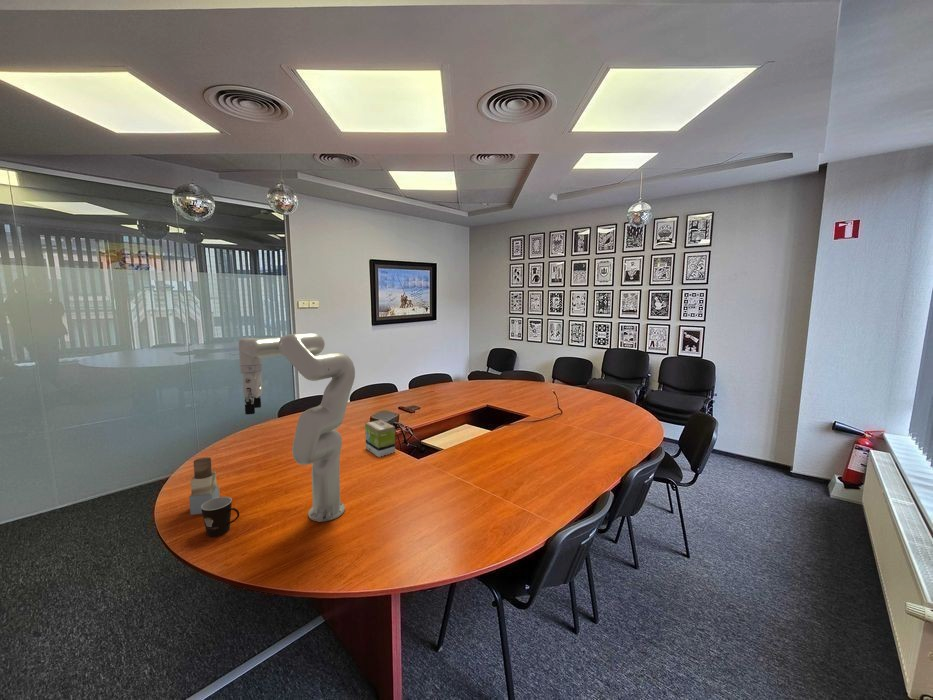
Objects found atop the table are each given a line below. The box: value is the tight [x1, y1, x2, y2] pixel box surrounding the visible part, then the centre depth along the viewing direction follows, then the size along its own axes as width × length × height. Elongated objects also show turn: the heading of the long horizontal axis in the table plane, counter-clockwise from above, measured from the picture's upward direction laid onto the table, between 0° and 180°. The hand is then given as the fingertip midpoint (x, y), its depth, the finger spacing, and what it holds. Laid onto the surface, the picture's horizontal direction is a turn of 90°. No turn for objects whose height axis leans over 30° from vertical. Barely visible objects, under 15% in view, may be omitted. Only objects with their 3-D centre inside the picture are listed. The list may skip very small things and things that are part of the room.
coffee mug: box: [201, 496, 240, 538], centre depth 123 cm, size 12×9×10 cm
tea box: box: [364, 419, 396, 458], centre depth 195 cm, size 15×10×15 cm
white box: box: [189, 485, 221, 516], centre depth 138 cm, size 7×7×7 cm
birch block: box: [190, 470, 218, 496], centre depth 137 cm, size 6×6×6 cm
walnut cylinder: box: [193, 456, 213, 479], centre depth 136 cm, size 5×5×6 cm
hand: (253, 410), depth 149 cm, fingers open, 9 cm apart
